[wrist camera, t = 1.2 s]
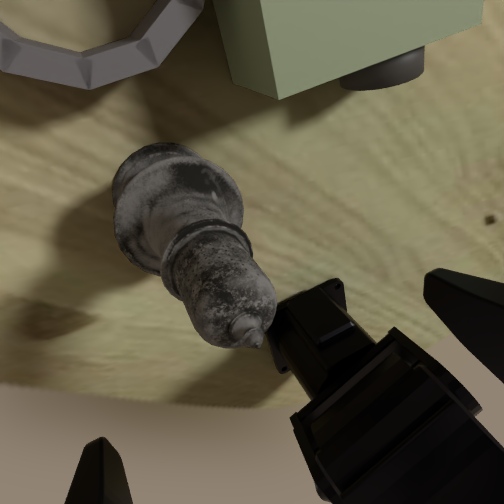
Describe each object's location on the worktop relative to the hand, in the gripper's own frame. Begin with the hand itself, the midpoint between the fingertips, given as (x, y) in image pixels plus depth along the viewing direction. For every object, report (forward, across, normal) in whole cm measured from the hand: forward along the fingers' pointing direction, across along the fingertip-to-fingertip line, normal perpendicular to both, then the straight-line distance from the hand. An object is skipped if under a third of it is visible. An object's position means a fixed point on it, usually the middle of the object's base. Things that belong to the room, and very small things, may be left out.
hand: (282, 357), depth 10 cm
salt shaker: (+13, 0, 0) cm, 13 cm away
